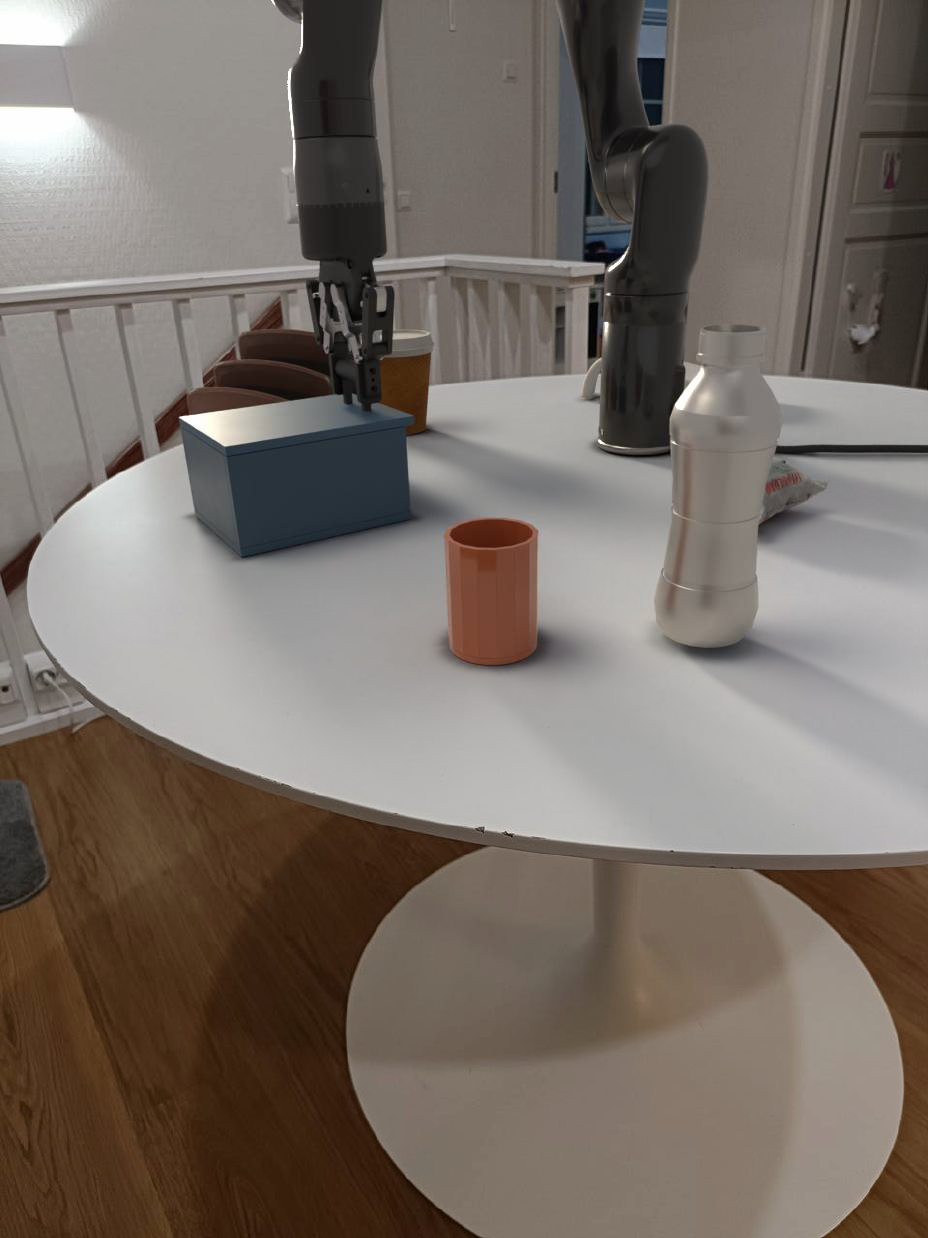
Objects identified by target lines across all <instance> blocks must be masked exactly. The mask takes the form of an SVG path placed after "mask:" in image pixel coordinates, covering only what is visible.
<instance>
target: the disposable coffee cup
mask: <svg viewBox="0 0 928 1238" xmlns="http://www.w3.org/2000/svg"><path fill="white" fill-rule="evenodd" d="M379 335H380V340H381V342H382V330H381V331H380V332H379ZM360 341H361V345H362V339H360ZM435 345H436V343H435V342H434V341H433V338H432V335H431V331H427V330H421V329H393V345H392V354H391V355H385V356H384V357H383V359H382V360H380V361H379V362H380V376H381V391H382V399H381V401H380V402H379V403H380V404H383V405H385V406H388V407H391V408H394V409H396V410H399V411H402V412H405V413H407V414H410V415H413V416H414V425H408V426H405V427H406V436H407V435H408V436H409V435H415V434H419V433H422V432H424V431H425V430H426V429H427V419H428V405H429V390H430V377H431V376H430V375H431V364H432V363H431V362H432V352H433V350H434V347H435Z"/></svg>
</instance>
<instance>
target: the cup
mask: <svg viewBox="0 0 928 1238" xmlns="http://www.w3.org/2000/svg"><path fill="white" fill-rule="evenodd" d="M443 540H444V559H445V560H444V563H445V564H444V565H445V585H446V586H445V587H446V609H447V634H448V635H447V636H448V641H449V648H450V649H449V650H450V651H451V653H452V654H453V655H455V657H457V658H458V659H460V660H463V661H465V662H468V663H470V664H475V665H484V666H500V665H508V664H509V665H510V664H513V663H517V662H520V661H522V660H524V659H525V660H526V659H527V658H528V657H530V656H531V655H532V654H533V653H534V652H535V651H536V649H537V647H538V634H539V633H538V631H539V630H538V629H539V628H538V627H539V626H538V625H539V624H538V620H539V617H538V616H539V613H538V612H539V611H538V610H539V608H538V607H539V530H538V529H537V528H536V527H535V526H534V525H533V524H531V523H529V522H527V521H523V520H521V519H520V520H519V519H516V518H508V517H480V518H471V519H468V520H467V519H466V520H464V521H460V522H457V523H455V524H453V525H451V526H450V527H448V528H446V530H445V533H444V539H443Z"/></svg>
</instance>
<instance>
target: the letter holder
mask: <svg viewBox="0 0 928 1238" xmlns="http://www.w3.org/2000/svg"><path fill="white" fill-rule="evenodd" d="M237 345H238V352H239V356H240V359H229V360H222V361H218V362H216V363H215V364H214V366H213V377H214V385H215V386H201V387H196V388H193V389H189V390H188V392H187V395H186V404H187V410H188V416H190V415H197V414H204V413H211V412H218V411H225V410H231V409H238V408H245V407H252V406H259V405H266V404H273V403H280V402H287V401H294V400H301V399H308V398H315V397H322V396H329V395H336V394H334V393H333V392H332V388H331V377H330V367H329V356H328V355H329V354H326V353H325V351H324V347H323V345H318V344H317V342H316V339H315V333H314V331H309V330H302V329H292V328H291V329H289V328H265V329H264V328H263V329H253V330H246V331H242V332H241V333H240V334H239V335H238V337H237ZM348 353H352V354H353V352H352V350H351V351H348ZM353 361H355V360H354V357H353ZM352 394H355V395H357V392H356V382H355V391H354V392H353V393H352Z"/></svg>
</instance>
